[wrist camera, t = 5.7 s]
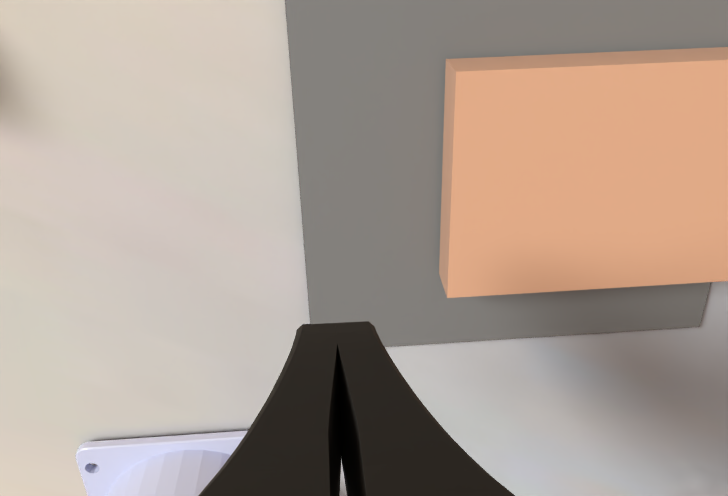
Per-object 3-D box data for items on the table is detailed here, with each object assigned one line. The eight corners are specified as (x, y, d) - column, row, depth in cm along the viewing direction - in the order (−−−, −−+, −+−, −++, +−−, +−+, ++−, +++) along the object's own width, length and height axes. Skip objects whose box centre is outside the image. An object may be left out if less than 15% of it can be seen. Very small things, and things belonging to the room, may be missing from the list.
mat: (695, 322, 24) (699, 326, 24) (312, 346, 24) (312, 351, 23) (795, -72, 18) (802, -71, 18) (281, -55, 17) (280, -54, 17)
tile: (438, 270, 22) (700, 255, 23) (447, 298, 21) (727, 281, 21) (444, 57, 19) (751, 44, 19) (455, 71, 17) (788, 57, 18)
